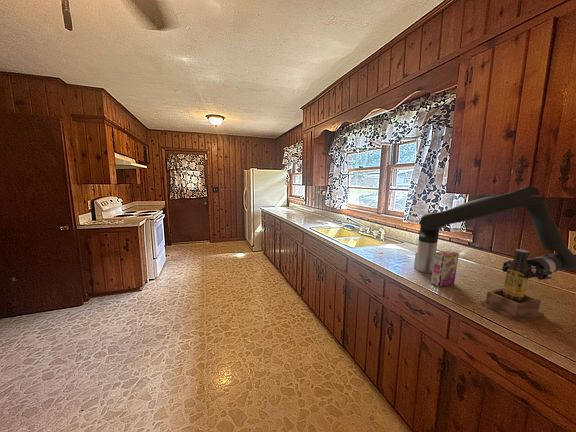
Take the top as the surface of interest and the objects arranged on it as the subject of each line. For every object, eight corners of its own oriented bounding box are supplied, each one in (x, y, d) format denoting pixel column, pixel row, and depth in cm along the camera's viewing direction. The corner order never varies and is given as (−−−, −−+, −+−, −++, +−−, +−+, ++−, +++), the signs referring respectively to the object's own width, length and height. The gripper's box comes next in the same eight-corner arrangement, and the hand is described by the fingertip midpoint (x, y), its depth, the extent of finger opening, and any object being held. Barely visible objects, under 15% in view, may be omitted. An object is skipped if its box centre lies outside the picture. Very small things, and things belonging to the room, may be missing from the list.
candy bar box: (439, 287, 115) (443, 255, 112) (430, 283, 120) (433, 252, 117) (455, 284, 119) (459, 252, 116) (445, 280, 124) (449, 249, 121)
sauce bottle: (499, 295, 98) (505, 248, 94) (507, 292, 100) (514, 246, 97) (519, 303, 92) (527, 253, 89) (527, 299, 94) (535, 251, 91)
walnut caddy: (480, 303, 101) (482, 290, 100) (500, 298, 106) (503, 285, 105) (522, 322, 88) (525, 307, 87) (543, 315, 93) (546, 301, 92)
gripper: (518, 252, 105) (494, 257, 99) (564, 264, 92) (540, 270, 86) (515, 268, 106) (491, 274, 100) (560, 282, 93) (536, 289, 87)
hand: (514, 272), depth 93 cm, fingers closed on sauce bottle, 6 cm apart
